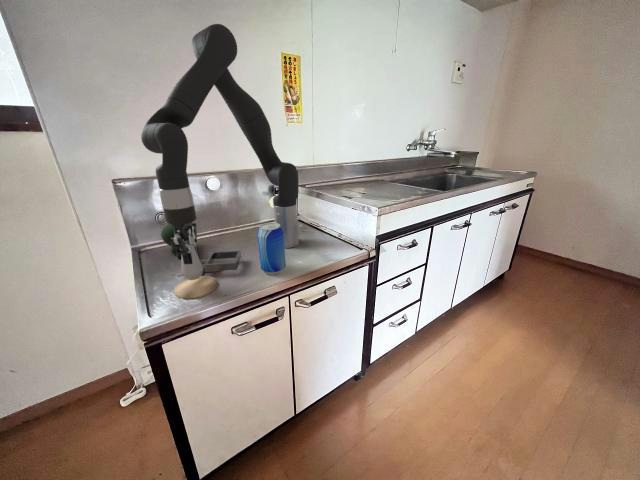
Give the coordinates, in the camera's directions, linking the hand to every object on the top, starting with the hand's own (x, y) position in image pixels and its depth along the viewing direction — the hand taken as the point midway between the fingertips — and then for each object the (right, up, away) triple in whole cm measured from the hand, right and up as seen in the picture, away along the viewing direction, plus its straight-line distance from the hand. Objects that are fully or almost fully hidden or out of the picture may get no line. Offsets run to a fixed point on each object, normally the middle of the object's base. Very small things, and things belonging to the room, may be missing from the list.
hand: (190, 261), depth 77 cm
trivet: (0, -8, +3) cm, 9 cm away
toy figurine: (-16, +1, +27) cm, 31 cm away
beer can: (+22, -4, +13) cm, 26 cm away
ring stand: (+1, -4, +15) cm, 15 cm away
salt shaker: (0, -5, +2) cm, 5 cm away
